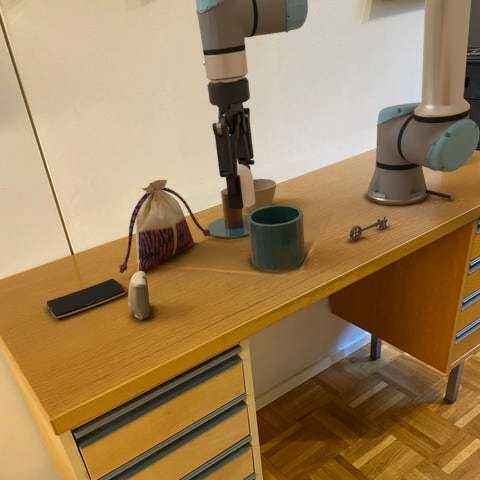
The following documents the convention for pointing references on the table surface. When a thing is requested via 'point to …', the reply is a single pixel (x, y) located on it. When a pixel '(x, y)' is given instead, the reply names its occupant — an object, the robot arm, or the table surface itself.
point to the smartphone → (85, 298)
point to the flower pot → (263, 193)
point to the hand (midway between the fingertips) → (241, 202)
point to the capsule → (246, 185)
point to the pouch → (159, 227)
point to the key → (357, 236)
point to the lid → (229, 222)
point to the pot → (276, 237)
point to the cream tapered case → (139, 296)
